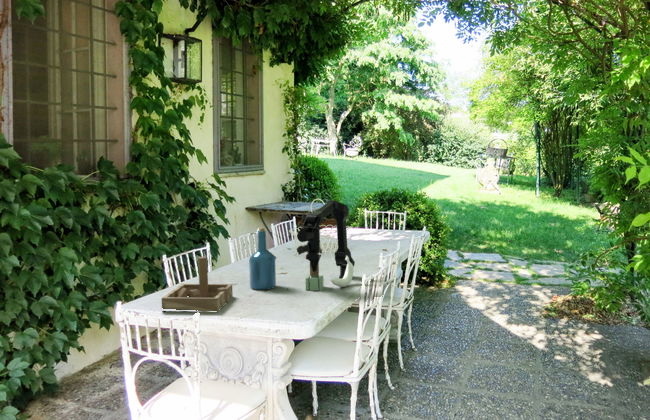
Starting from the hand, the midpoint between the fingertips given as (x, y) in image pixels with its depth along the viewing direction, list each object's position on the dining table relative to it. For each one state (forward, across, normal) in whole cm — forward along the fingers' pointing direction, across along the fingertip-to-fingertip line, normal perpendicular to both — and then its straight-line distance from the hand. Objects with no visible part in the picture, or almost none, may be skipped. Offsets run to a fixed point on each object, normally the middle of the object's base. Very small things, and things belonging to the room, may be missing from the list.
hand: (314, 270), depth 284 cm
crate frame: (+9, +31, -49) cm, 59 cm away
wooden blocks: (+9, +31, -49) cm, 59 cm away
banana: (+9, -5, +14) cm, 17 cm away
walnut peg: (+2, 0, 0) cm, 2 cm away
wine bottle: (+9, -2, -26) cm, 28 cm away
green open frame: (+9, 0, 0) cm, 9 cm away
